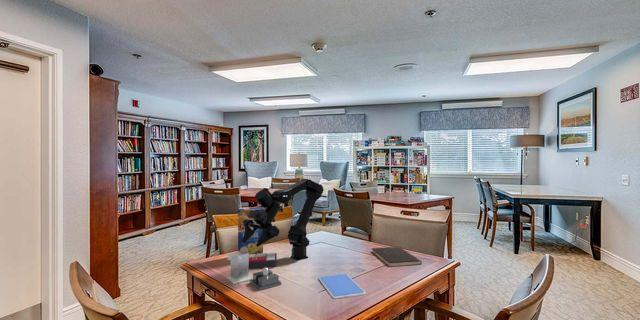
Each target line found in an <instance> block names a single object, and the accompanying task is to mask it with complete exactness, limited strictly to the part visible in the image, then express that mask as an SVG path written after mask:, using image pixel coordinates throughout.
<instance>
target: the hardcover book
mask: <svg viewBox="0 0 640 320" xmlns="http://www.w3.org/2000/svg"><path fill="white" fill-rule="evenodd" d="M371 250H372V253H374V254H375V255H376V257H378V258H379V259H381V260H382V261H383V262H384V263H385V264H386V265H387V266H388V267H398V266H412V265H422V260H421V259H419V258H417V257H415V256H414V255H413V254H411V253H410V252H408V251H407V250H405V249H404V248H402V247H400V246H389V247H374V248H373V247H372V248H371Z"/></svg>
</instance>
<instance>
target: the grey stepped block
mask: <svg viewBox="0 0 640 320" xmlns="http://www.w3.org/2000/svg"><path fill="white" fill-rule="evenodd" d="M227 260H228V261H230V276H231V279H234V280H236V281H241V280H243V279H246V278H249V277H250V275H249V272H250V271H249V253H247V252H244V251H238V250H237V251H235V252H231V253H230V254H229V255H227Z"/></svg>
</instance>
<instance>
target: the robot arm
mask: <svg viewBox="0 0 640 320" xmlns="http://www.w3.org/2000/svg"><path fill="white" fill-rule="evenodd" d="M303 190H305V195H306V199H305V201H304V204H303V207H302V209H301V210H300V214H299V217H298V219H297V220H296V221H297V222H296V223H295V224H294V225H292V224H291V225H290V228H289V230H288V232H287V239H288V242H289V244H290V245H291V246H292V247H291V255H290V258H293V260H294V259H295V260H296V261H299V260H305V259H308V258H309V256H308V255H307V248H308V246H310V242H311V241H310V239H308V237H307V225H308V223H309V220H310V218H311V214H312V212H313V210H314V207H315V204H316V202H317V201H318V200H320V199H321V197H322V195H323V193H324V187H323V185H322V184H320V183H317V182H316V181H313V180H312V179H310V178H301V179H300V180H299V181H297V182H295V183H293V184H292V185H290V186H288V187H286V188H280V189H276V190H274V191H273V192H272V193H271V192H270V190H269V189H268V188H267V187H263V189H261V190H259V191H258V192H256V194H255V195H254V199H255V200H256V202H257V203H258V204H259V205H260V206H261V207H263V210H260V211H254V210H250V212H249V215H248V217H249V218H253V219H254V221H255V222H256V224H255V223H254V222H253V221H252V220H250V219H245V220H244V221H243V223H242V224H243V226H244V227H245V232H244V236H243V240H242V242H243V243H245V242H246V241H247V240H248V239H249V238H250V237H251V236H252V235H253V234H254V233H255V232H254V231H256V230H257V229H261V230H263V233H262V235H261V237H260V238H259V240H258V242H257V244H256V246H257V247H259V246H260V245H262V244H263V245H264V244H265V243H266V242H268V241H270V240H272V239H275V238H276V237H277V238H278V236H279V234H280V229H279V228H278V227H277V225H275V224H274V223H275V222H276V219H275V218H276V217H277V215H278V214H279V212H280V213H283V212H284V208H283V205H287V203H288V202H290V201H291V200H292V197H293V196H295V195H296V194H299V193H300V192H302V191H303ZM280 204H281V205H280ZM282 204H283V205H282Z"/></svg>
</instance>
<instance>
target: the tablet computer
mask: <svg viewBox="0 0 640 320" xmlns="http://www.w3.org/2000/svg"><path fill="white" fill-rule="evenodd" d="M318 280H319V282H321V284H322V286H323V287H324V288H325V289H326V291H327V292H328V294H329V296H331V298H332V299H333V300H338V299H344V298H352V297H359V296H365V295H367V294H366V291H365V290H364V289H363V288H362V287H361V286H359V284H357V283H356V282H355V281H354V280H353V279H352V278H351V277H350V276H349V275H348V274H347V273H341V274H336V275H335V274H334V275H326V276H319V277H318Z"/></svg>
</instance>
